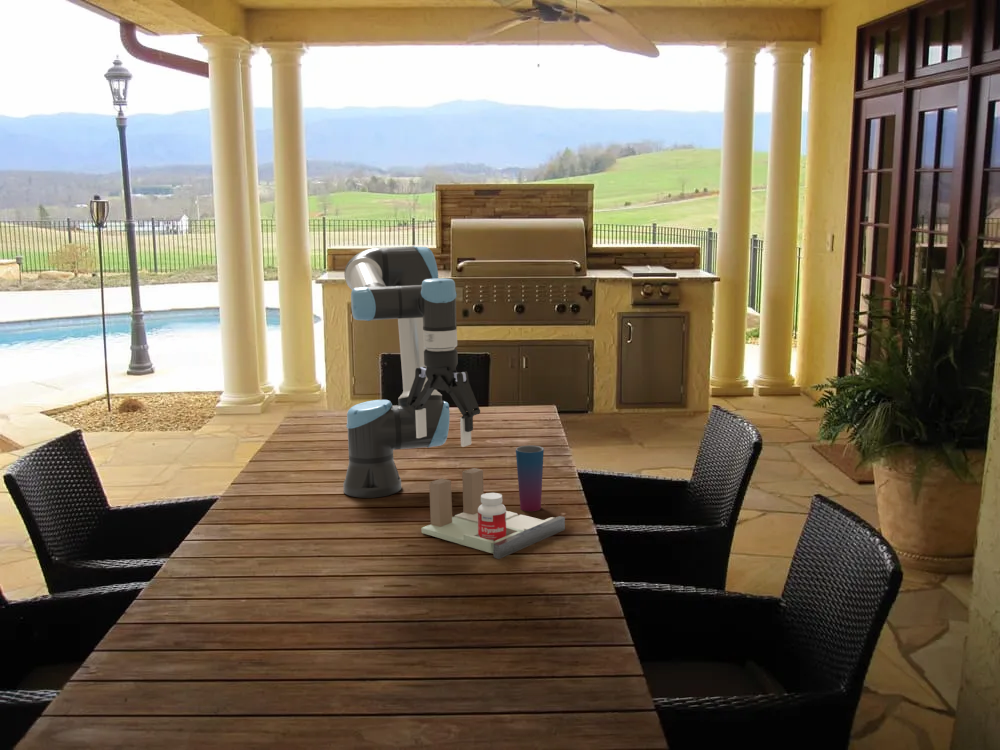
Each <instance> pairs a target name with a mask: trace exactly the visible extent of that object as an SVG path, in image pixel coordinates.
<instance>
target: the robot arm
mask: <svg viewBox="0 0 1000 750" xmlns="http://www.w3.org/2000/svg"><path fill="white" fill-rule="evenodd" d="M343 274H344V279H345V283H346V285H347V287H348V288H349V289H350V290H351V292H350V305H351V313H352V318H353V319H354V320H356V321H366V322H367V321H368V322H369V321H370V322H371V321H381V320H382V321H383V320H397V325H398V326H397V327H398V338H399V352H400V362H401V376H402V390H403V391H402V393H401V394H400V396H399V397H398V400H397V402H398V403H397V404H398V405H397V404H396V405H395V404H394V405H393V403H392V402H391V400H388V399H374V400H367V401H364V402H360V403H357V404H354V405H353V406H351V407H350V408H349V409H348V411H347V412H346V426H345V427H346V429H347V447H348V448H347V449H348V464H347V465H348V466H347V469H346V475H345V479H344V480H343V483H342V485H343V493H344V494H345V495H347V496H350V497H352V498H360V499H361V498H362V499H363V498H365V499H367V498H368V499H371V498H372V499H373V498H381V497H389V496H391V495H394V494H397V493H399V492H400V491H401V490H402V479H401V476H400V473H399V471H398V468H397V466H396V463H395V460H394V458H395V457H394V451H395V450H406V449H409V450H411V449H421V448H422V449H425V448H427V449H429V448H432V447H434V448H435V447H440V446H443V445H444V444H445V443H446V442H447V439H448V436H449V429H450V415H451V413H450V404H449V403H448V402H447V401H445V400H443V394H441V392H439V391H438V390H440V391H445V392H446V393H447V394H448V395H449V396H450V398H451V399H452V401H453V402H454V404H455V405H456V407H457V409H458V410H459V412H460V413H461V416H460V418H459V421H460V423H459V425H460V428H459V429H460V447H462V448H464V447H467V446H470V445H472V432H473V431H474V416H478V415H480V414H481V408H480V407H479V404H478V401H477V399H476V397H475V395H474V391H473V389H472V386H471V384H470V379H469V374H468V373H469V372H467V371H462V372H458V371H457V369H456V368H457V365H458V363H459V362H458V360H459V359H458V350H457V348H456V347H458V327H457V291H456V282H455V280H454V279H452V278H445V277H443V278H441V277H440V278H439V270H438V265H437V261H436V258H435V255H434V253H433V251H432V249H430V248H429V247H427V246H415V245H412V246H397V247H396V246H393V247H372V248H367V249H364V250H362V251H360V252H358V253H357V254H356V255H354V256H352V258H350V260H349V261H348V262H347V263H346V265H345V269H344V273H343Z"/></svg>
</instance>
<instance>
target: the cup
mask: <svg viewBox="0 0 1000 750" xmlns="http://www.w3.org/2000/svg"><path fill="white" fill-rule="evenodd" d="M544 451H545V450H544V447H543V446H540V445H532V444H531V445H521V446H518V447H516V448H515V458H516V459H515V460H516V470H517V484H518V493H519V494H518V495H519V507H520V510H521V511H523V512H537V511H540V510H541V508H542V495H543V494H542V493H543V492H542V490H543V474H544V473H543V472H544V469H543V468H544Z"/></svg>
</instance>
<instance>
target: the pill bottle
mask: <svg viewBox="0 0 1000 750" xmlns="http://www.w3.org/2000/svg"><path fill="white" fill-rule="evenodd" d="M481 503H482V504H481V505H480V506H479V507H478V537H481V538H485V539H488V540H492V541H496V540H498V539H500V538H503V537H505V536H506V511H507V508H506V506H505V505H504V504H503V494H502V493H498V492H486V493H484V494H482V495H481Z"/></svg>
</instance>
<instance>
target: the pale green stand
mask: <svg viewBox="0 0 1000 750" xmlns="http://www.w3.org/2000/svg"><path fill="white" fill-rule="evenodd" d="M428 484H429V486H428V487H429V509H430V510H429V511H430V512H429V513H430V515H429V516H430V524H428V525H426V526H423V527H421V533H422V534H424V535H428V536H432V537H435V538H437V539H442V540H445V541H448V542H451V543H455V544H458V545H461V546H466V547H468V548H472V549H476V550H478V551H479V550H480V551H482V552H486V553H488V554H489V553H490V554H493V555H494V549H493V544H495V543H497V542H499V541H502V540H504V539H506V538H509V537H511V536H513V535H516V534H518V533H520V532H523V530H520V529H516V528H512V527H508V526H506V536H505V537H503V538H500V539H498V540H496V541H492V540H488V539H485V538H481V537H478V523H474V522H470V521H467V520H463V519H459V518H455V516H453V503H452V502H453V501H452V499H453V498H452V480H451V479H446V478H443V477H442V478H438V479H435V480H432V481H429V483H428Z"/></svg>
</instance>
